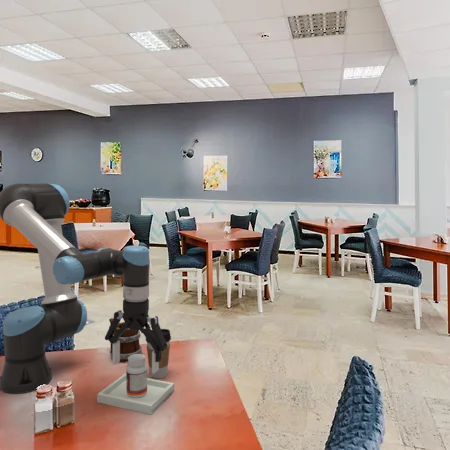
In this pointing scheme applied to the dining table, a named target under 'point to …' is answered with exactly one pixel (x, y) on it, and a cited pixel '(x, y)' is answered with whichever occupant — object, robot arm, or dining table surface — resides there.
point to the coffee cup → (164, 356)
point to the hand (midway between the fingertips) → (135, 367)
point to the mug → (128, 342)
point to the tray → (145, 404)
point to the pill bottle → (136, 376)
